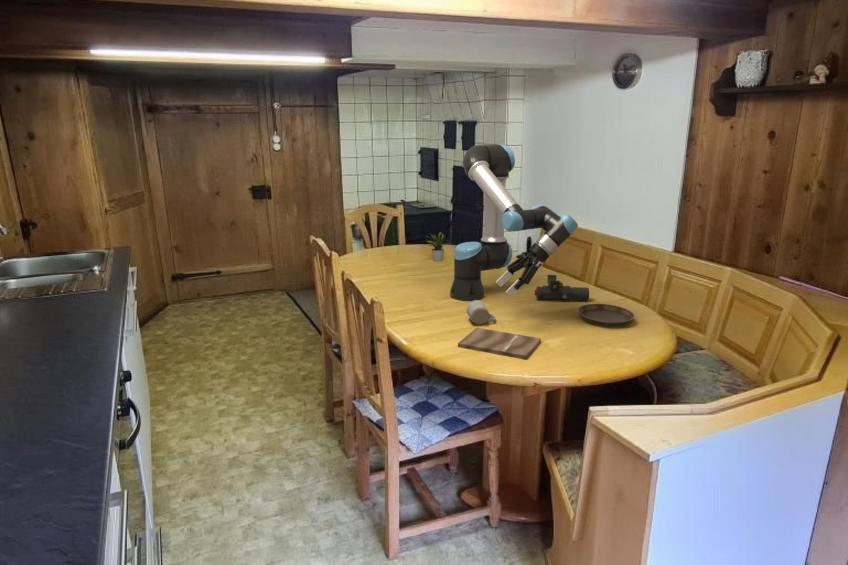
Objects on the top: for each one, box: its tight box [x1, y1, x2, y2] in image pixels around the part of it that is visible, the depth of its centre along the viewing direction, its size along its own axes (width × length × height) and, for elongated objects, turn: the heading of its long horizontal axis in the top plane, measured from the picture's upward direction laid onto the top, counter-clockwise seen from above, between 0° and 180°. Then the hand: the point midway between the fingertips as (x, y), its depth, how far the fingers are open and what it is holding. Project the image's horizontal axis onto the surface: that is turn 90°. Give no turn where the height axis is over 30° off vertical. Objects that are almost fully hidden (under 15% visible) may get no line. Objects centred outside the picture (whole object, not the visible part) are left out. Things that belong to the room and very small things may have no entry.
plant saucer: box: [577, 303, 635, 328], centre depth 213 cm, size 21×21×3 cm
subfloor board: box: [457, 327, 542, 360], centre depth 190 cm, size 24×17×1 cm
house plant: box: [426, 231, 448, 262], centre depth 308 cm, size 14×14×16 cm
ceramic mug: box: [466, 299, 497, 326], centre depth 211 cm, size 11×8×8 cm
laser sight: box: [534, 274, 590, 302], centre depth 237 cm, size 10×22×10 cm, turn 85°
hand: (502, 289), depth 209 cm, fingers open, 13 cm apart
